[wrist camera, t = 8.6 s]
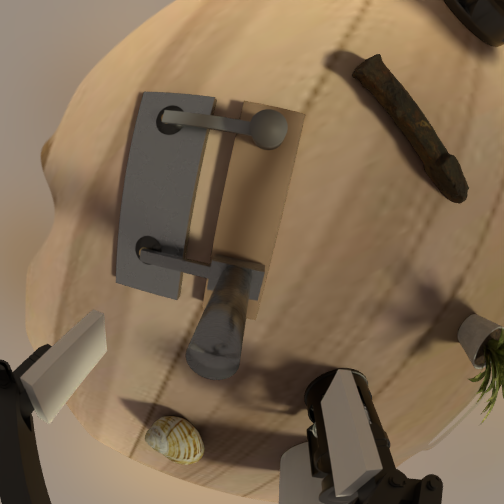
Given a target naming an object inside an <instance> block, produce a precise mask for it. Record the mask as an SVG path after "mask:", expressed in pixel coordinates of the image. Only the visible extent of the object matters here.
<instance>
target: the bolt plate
mask: <svg viewBox="0 0 504 504" xmlns="http://www.w3.org/2000/svg"><path fill="white" fill-rule="evenodd" d="M216 102H217V100H216V98H215V97H209V96H200V95H190V94H179V93H164V92H144V93H143V97H142V101H141V104H140V108H139V112H138V116H137V120H136V125H135V129H134V133H133V138H132V143H131V148H130V153H129V158H128V164H127V169H126V176H125V182H124V189H123V196H122V204H121V212H120V222H119V233H118V246H117V264H116V283H119V284H122V285H125V286H129V287H132V288H135V289H139V290H142V291H146V292H149V293H153V294H156V295H160V296H164V297H167V298H171V299H175V300H178V298H179V297H180V293H181V285H182V277H183V272H180V271H176V270H172V269H168V268H164V267H160V266H156V265H152V264H148V263H145V262H141V261H140V255H139V250H140V249H141V248H142V247H147V248H148V249H150V250H154V251H158V252H162V253H166V254H170V255H174V256H178V257H182V258H185V256H186V250H187V243H188V237H189V231H190V225H191V219H192V213H193V208H194V202H195V197H196V191H197V186H198V181H199V176H200V171H201V166H202V162H203V157H204V152H205V148H206V143H207V139H208V135H209V130H210V129H207V128H200V127H193V126H185V125H176V124H165V123H163V122H162V121H161V116H162V115H163V114H164V111H165V110H170V111H180V112H190V113H198V114H206V115H213V114H214V110H215V106H216Z"/></svg>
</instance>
